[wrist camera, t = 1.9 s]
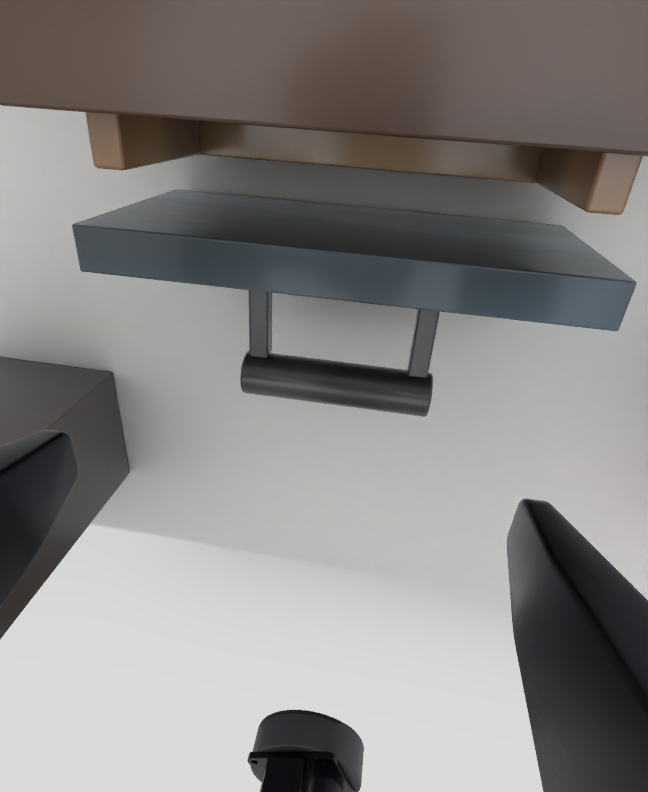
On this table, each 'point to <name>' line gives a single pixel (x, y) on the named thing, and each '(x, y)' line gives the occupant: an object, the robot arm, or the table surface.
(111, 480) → the pedestal
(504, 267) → the drawer
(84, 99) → the cabinet
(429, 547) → the table surface
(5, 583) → the robot arm
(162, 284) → the table surface
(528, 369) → the table surface
